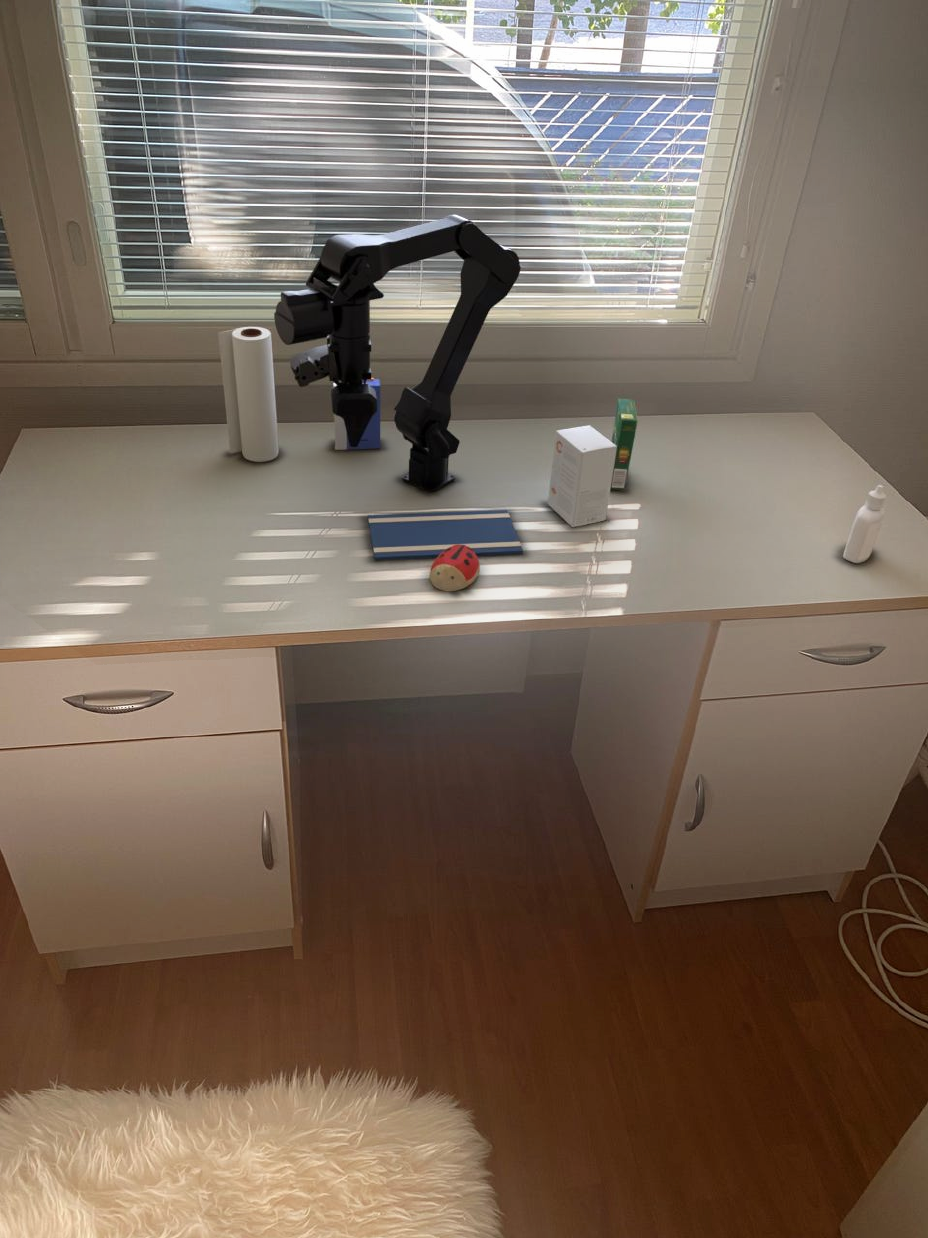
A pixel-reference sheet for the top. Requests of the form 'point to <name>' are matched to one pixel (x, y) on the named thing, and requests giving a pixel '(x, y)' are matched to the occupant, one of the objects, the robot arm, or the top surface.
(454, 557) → the ladybug figurine
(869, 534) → the eye dropper bottle
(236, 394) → the paper towel roll
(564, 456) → the small box
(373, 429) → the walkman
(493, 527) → the towel
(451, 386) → the robot arm
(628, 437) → the coffee box
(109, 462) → the top surface
